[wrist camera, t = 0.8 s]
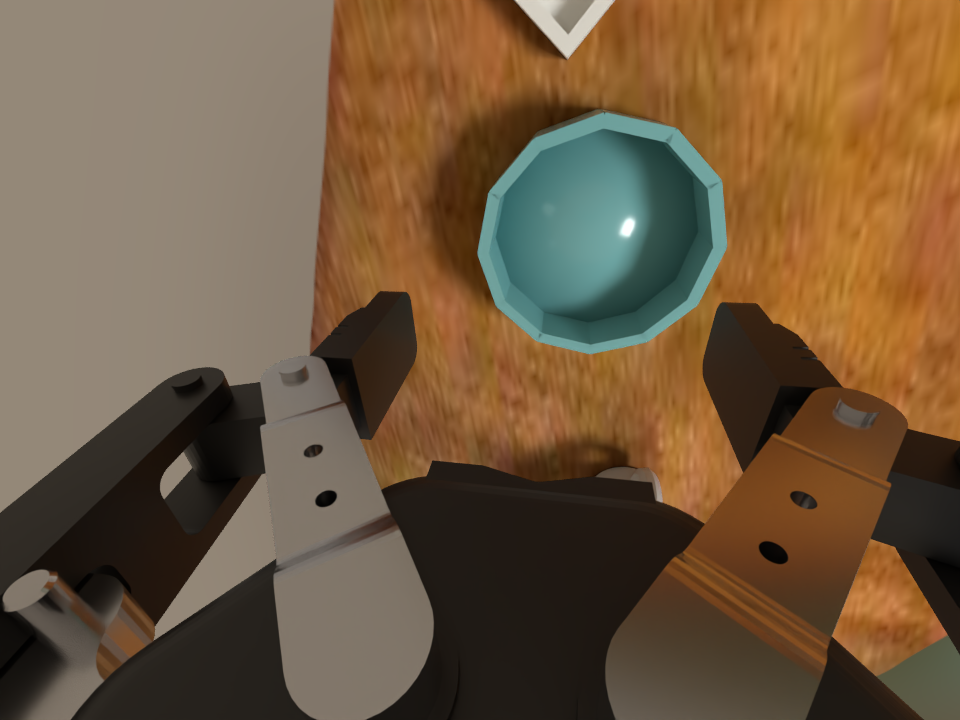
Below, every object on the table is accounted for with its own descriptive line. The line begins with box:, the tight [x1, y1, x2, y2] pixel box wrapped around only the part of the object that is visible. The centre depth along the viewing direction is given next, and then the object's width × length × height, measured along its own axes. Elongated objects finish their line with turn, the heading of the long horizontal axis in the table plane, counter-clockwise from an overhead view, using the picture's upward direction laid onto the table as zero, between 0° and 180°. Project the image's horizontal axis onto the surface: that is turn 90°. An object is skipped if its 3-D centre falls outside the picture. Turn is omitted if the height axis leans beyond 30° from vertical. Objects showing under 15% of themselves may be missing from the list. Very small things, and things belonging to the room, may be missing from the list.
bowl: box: [477, 109, 727, 354], centre depth 31 cm, size 16×16×4 cm
